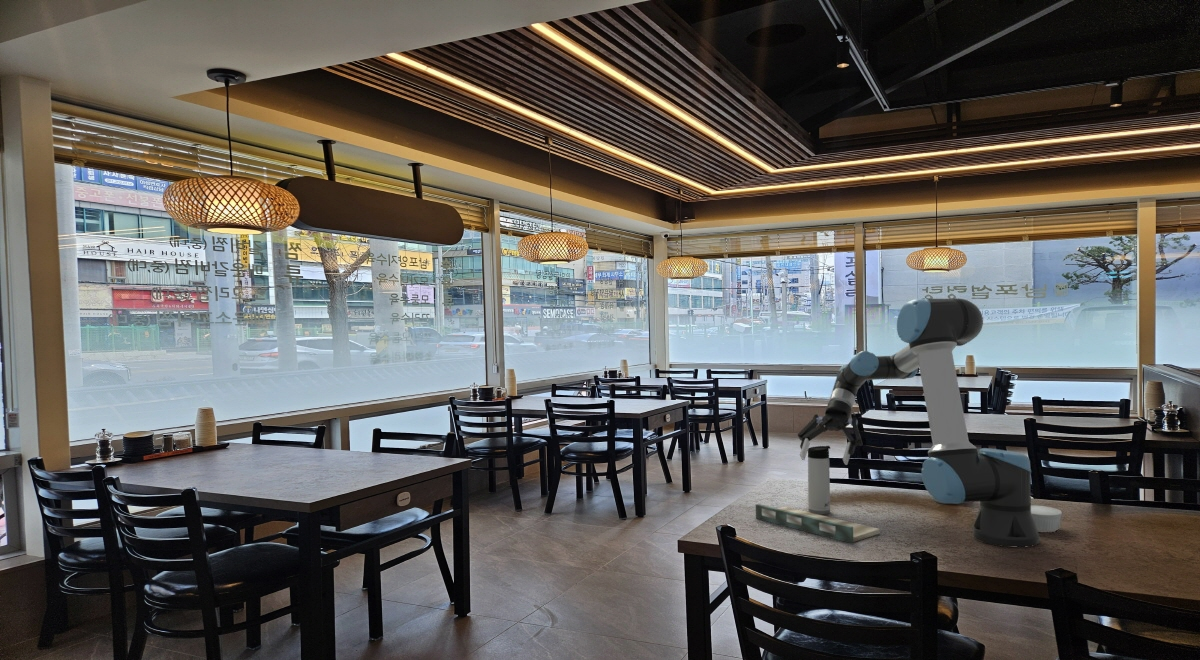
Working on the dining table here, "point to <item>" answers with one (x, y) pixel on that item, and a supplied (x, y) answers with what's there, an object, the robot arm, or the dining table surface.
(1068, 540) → the dining table surface
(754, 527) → the dining table surface
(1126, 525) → the dining table surface
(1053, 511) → the ramekin
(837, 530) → the shelf
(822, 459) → the travel mug
